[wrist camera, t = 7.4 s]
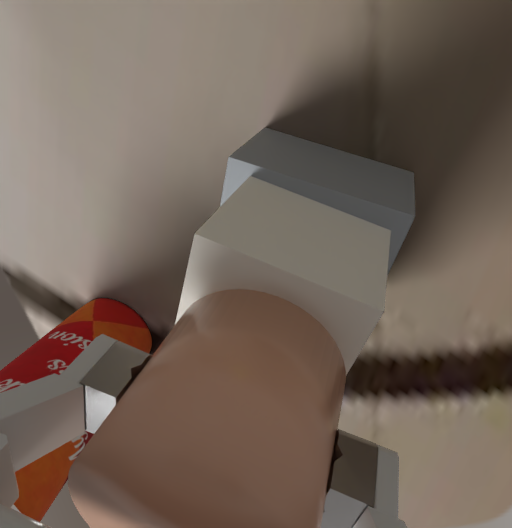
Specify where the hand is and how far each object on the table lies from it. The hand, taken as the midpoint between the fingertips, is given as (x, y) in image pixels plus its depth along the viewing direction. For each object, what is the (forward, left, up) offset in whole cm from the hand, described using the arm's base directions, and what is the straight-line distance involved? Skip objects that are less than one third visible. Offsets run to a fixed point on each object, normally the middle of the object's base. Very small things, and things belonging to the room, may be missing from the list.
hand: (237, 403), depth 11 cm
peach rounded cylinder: (0, 0, -2) cm, 2 cm away
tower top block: (0, 0, -7) cm, 7 cm away
